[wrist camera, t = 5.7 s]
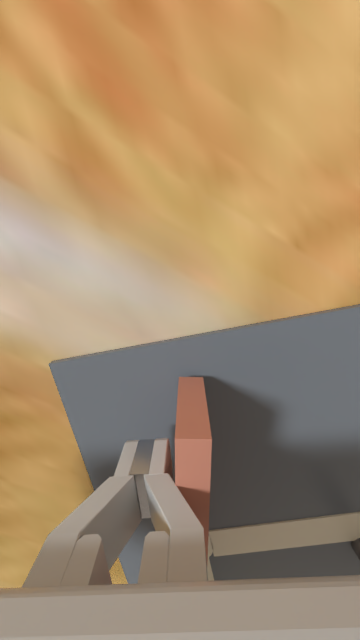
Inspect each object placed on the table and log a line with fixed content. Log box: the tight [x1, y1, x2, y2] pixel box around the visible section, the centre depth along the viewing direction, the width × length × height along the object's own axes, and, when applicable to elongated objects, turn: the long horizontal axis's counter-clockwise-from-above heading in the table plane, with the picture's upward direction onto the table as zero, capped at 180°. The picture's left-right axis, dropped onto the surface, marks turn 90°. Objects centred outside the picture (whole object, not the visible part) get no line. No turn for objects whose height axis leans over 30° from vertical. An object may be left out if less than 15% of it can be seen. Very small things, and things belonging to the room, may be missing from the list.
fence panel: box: [175, 377, 212, 562], centre depth 9 cm, size 9×1×4 cm, turn 0°
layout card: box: [49, 304, 360, 584], centre depth 13 cm, size 23×14×1 cm, turn 11°
